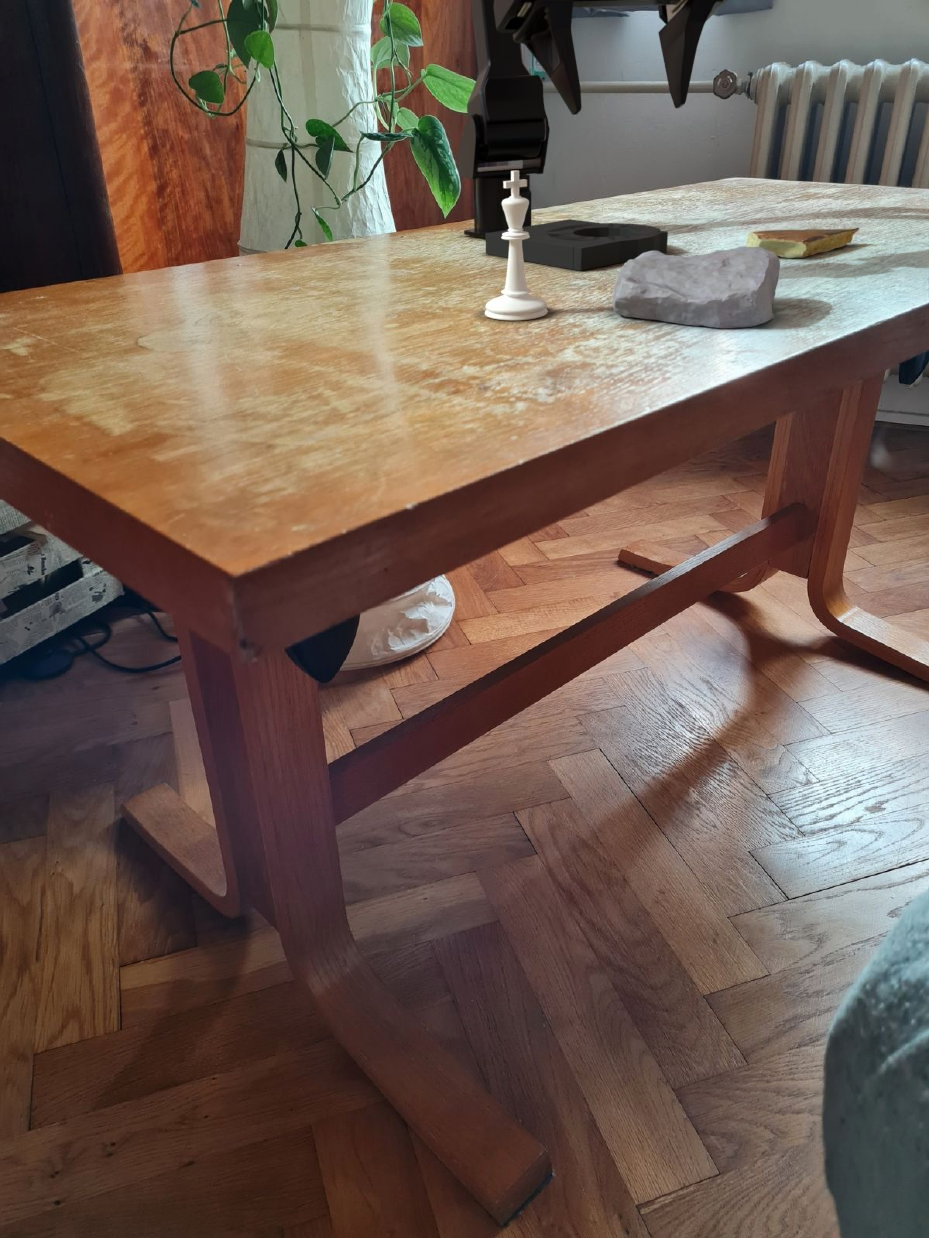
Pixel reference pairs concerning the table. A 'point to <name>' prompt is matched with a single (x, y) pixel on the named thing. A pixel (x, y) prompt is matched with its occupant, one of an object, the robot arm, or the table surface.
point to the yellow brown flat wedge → (800, 241)
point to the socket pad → (582, 243)
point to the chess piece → (515, 263)
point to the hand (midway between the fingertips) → (629, 109)
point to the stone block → (700, 287)
